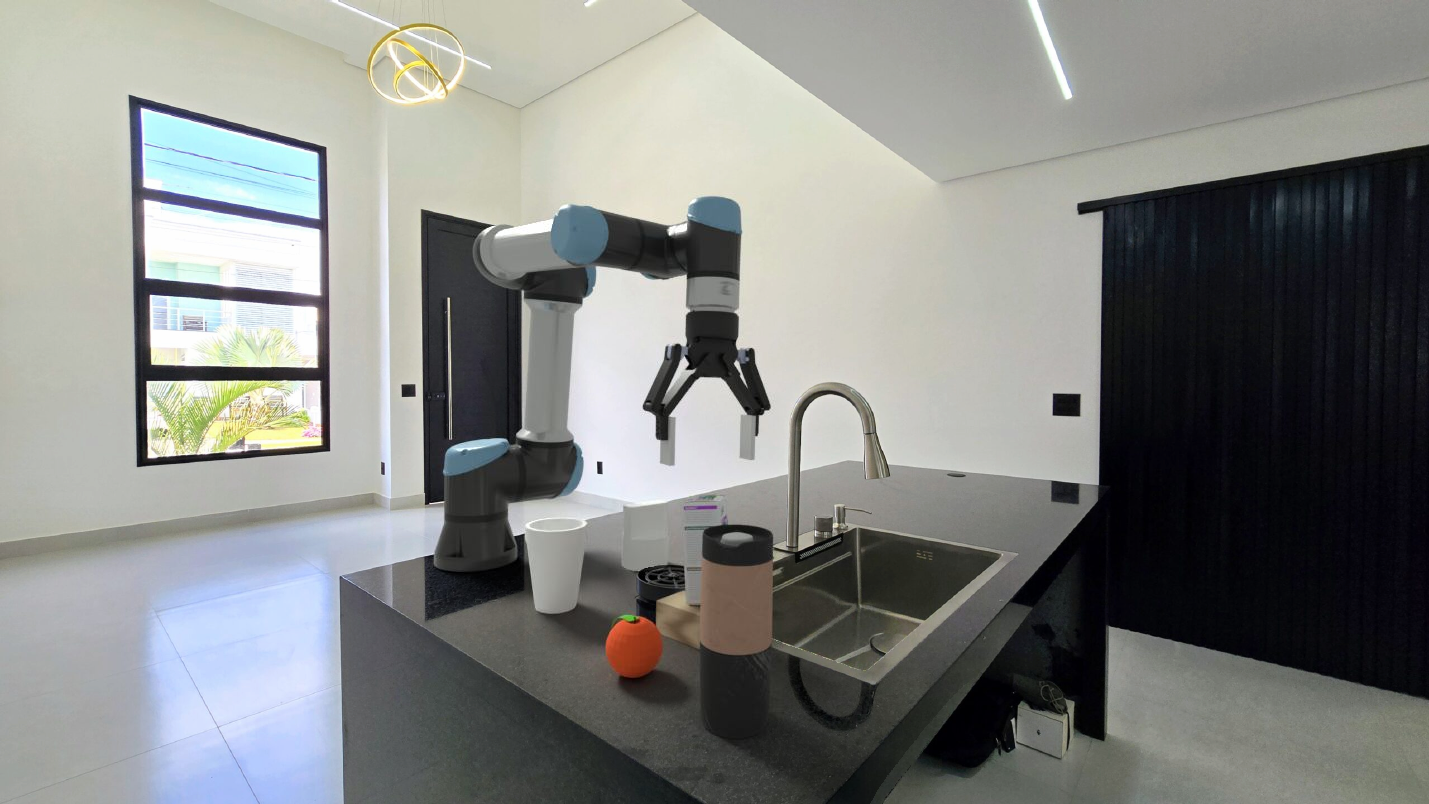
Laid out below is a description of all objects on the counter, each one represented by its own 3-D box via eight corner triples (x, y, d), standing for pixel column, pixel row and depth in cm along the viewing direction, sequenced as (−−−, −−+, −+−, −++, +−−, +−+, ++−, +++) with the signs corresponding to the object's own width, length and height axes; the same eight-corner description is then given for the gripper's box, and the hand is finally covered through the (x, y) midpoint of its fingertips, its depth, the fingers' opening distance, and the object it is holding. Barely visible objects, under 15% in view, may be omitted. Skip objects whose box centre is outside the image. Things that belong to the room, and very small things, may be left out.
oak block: (655, 635, 86) (656, 600, 86) (705, 613, 95) (706, 581, 95) (715, 658, 79) (716, 621, 79) (763, 632, 88) (764, 598, 88)
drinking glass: (638, 575, 111) (639, 510, 111) (612, 563, 118) (613, 502, 118) (677, 566, 117) (678, 504, 117) (650, 555, 124) (651, 497, 124)
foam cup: (536, 622, 89) (537, 534, 89) (516, 602, 96) (516, 521, 96) (596, 608, 95) (597, 526, 94) (572, 591, 102) (573, 515, 102)
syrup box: (726, 605, 83) (722, 500, 83) (684, 605, 84) (680, 500, 84) (731, 592, 89) (728, 494, 89) (692, 592, 90) (688, 494, 90)
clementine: (588, 671, 74) (588, 614, 74) (631, 653, 79) (632, 600, 79) (630, 695, 69) (631, 633, 69) (674, 674, 74) (675, 616, 74)
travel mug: (746, 694, 70) (749, 521, 69) (784, 728, 63) (788, 537, 62) (686, 710, 66) (689, 527, 65) (719, 748, 59) (723, 545, 59)
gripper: (646, 301, 75) (642, 471, 76) (796, 316, 89) (792, 459, 90) (620, 306, 82) (617, 463, 82) (764, 320, 96) (761, 453, 96)
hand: (708, 461), depth 86 cm, fingers open, 13 cm apart
